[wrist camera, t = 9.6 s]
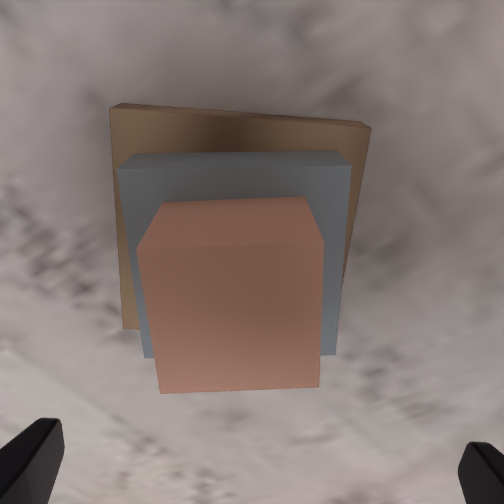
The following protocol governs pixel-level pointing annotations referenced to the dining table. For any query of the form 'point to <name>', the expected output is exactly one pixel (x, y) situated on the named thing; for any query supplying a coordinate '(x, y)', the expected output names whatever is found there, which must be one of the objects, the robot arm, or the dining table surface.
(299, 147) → the walnut base block
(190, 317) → the terracotta block
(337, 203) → the slate top block
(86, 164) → the dining table surface
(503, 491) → the robot arm
